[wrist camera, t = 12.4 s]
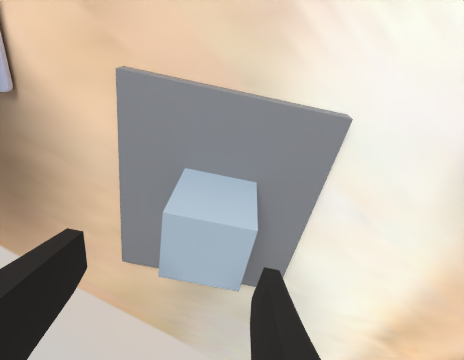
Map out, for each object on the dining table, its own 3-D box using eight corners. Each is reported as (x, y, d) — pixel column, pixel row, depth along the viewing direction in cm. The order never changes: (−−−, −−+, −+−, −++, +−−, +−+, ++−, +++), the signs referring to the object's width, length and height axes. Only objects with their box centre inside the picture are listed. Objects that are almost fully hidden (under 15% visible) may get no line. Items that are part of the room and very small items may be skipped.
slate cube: (178, 223, 20) (158, 276, 16) (184, 167, 18) (162, 212, 13) (241, 235, 20) (238, 291, 16) (256, 182, 18) (257, 230, 13)
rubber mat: (127, 252, 24) (122, 261, 23) (123, 66, 16) (115, 68, 15) (276, 281, 24) (277, 290, 23) (347, 114, 16) (352, 119, 15)
